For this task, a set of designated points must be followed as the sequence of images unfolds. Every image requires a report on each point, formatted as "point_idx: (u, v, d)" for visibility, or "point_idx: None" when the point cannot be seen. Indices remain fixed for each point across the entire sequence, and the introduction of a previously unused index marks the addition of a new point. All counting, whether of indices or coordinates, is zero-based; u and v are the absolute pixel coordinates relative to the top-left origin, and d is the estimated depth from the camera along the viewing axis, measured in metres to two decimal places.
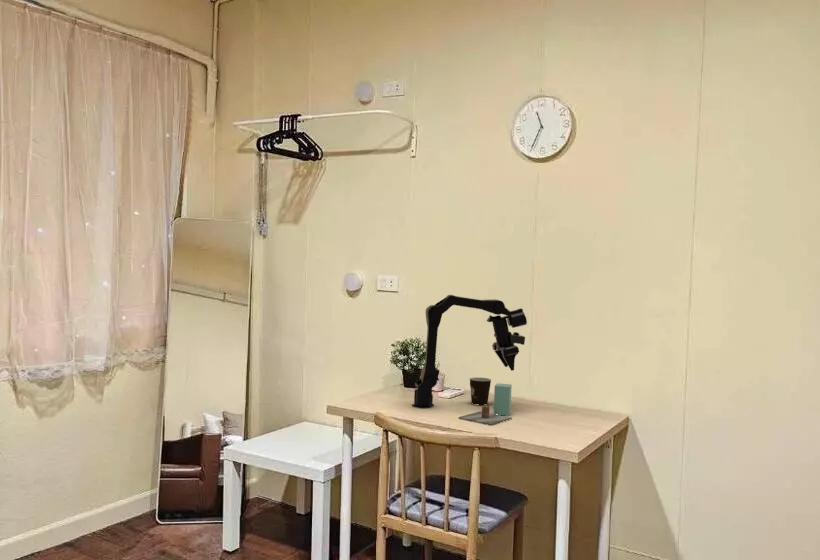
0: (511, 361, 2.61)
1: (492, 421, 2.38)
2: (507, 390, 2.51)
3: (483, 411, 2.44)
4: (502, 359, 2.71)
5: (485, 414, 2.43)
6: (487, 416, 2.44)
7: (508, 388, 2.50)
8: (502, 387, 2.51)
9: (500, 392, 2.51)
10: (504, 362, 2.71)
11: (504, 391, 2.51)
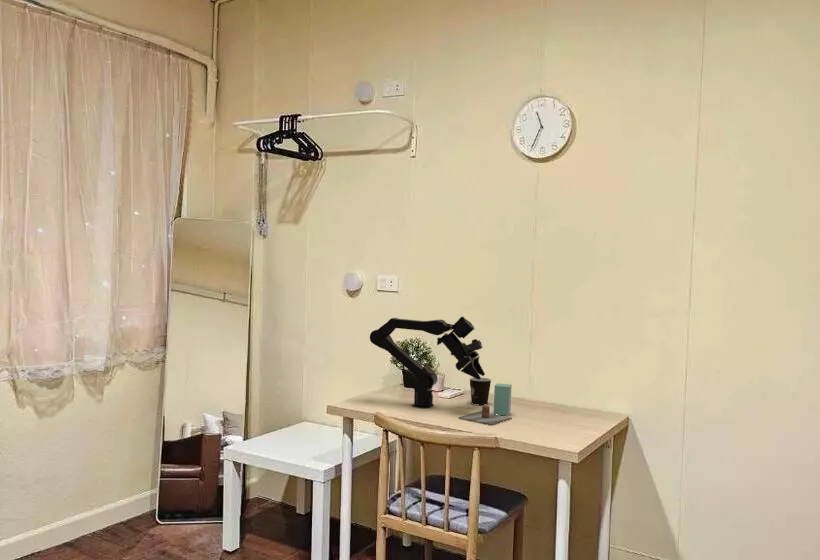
0: (472, 371, 2.51)
1: (492, 421, 2.38)
2: (507, 390, 2.51)
3: (483, 411, 2.44)
4: (476, 370, 2.61)
5: (485, 414, 2.43)
6: (487, 416, 2.44)
7: (508, 388, 2.50)
8: (502, 387, 2.51)
9: (500, 392, 2.51)
10: (479, 372, 2.61)
11: (504, 391, 2.51)
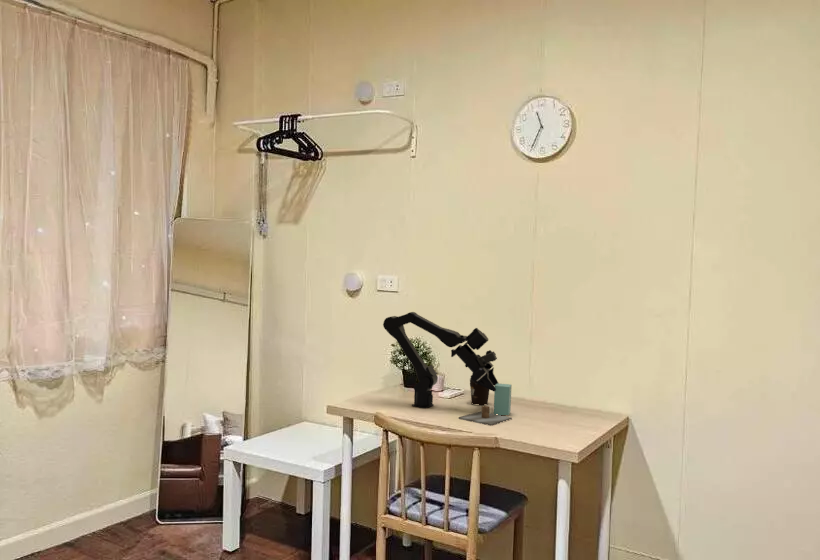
0: (487, 383, 2.50)
1: (492, 421, 2.38)
2: (507, 390, 2.51)
3: (483, 411, 2.44)
4: (491, 381, 2.60)
5: (485, 414, 2.43)
6: (487, 416, 2.44)
7: (508, 388, 2.50)
8: (502, 387, 2.51)
9: (500, 392, 2.51)
10: (494, 383, 2.59)
11: (504, 391, 2.51)
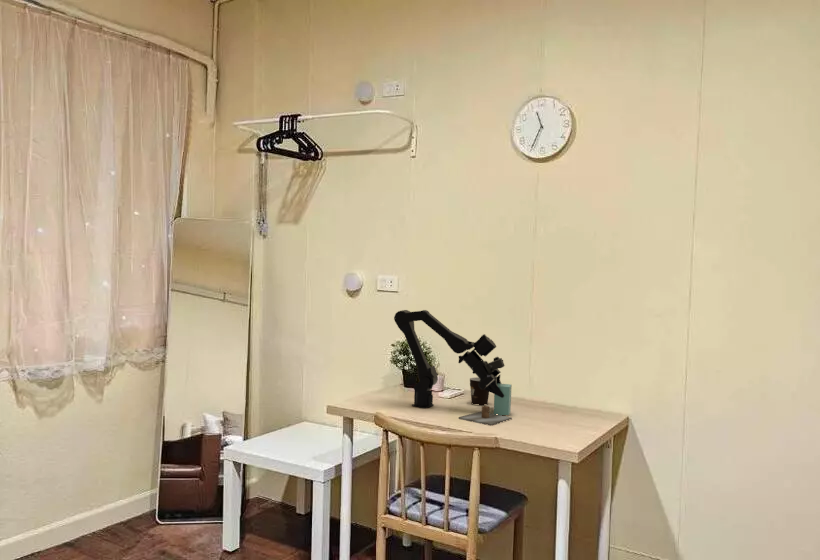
0: (496, 389, 2.50)
1: (492, 421, 2.38)
2: (507, 390, 2.51)
3: (483, 411, 2.44)
4: None
5: (485, 414, 2.43)
6: (487, 416, 2.44)
7: (508, 388, 2.50)
8: (502, 387, 2.51)
9: None
10: None
11: (504, 391, 2.51)
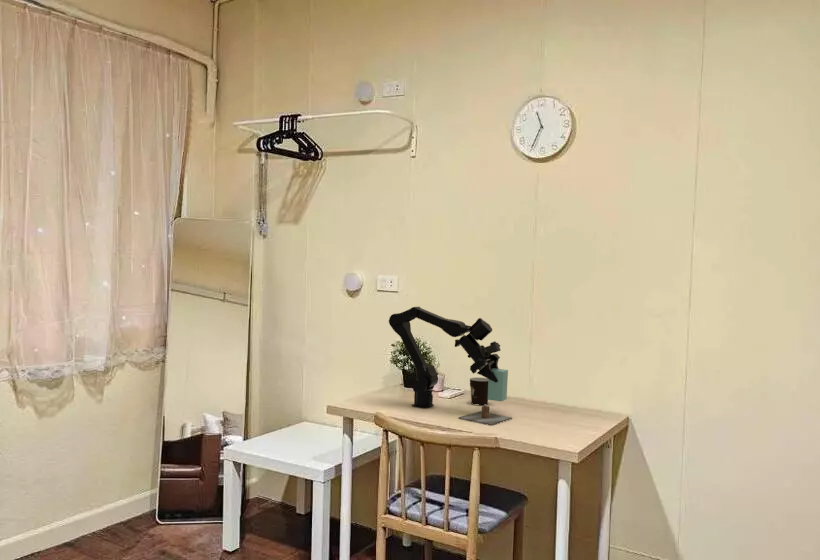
0: (489, 374, 2.47)
1: (492, 421, 2.38)
2: (501, 375, 2.46)
3: (483, 411, 2.44)
4: None
5: (485, 414, 2.43)
6: (487, 416, 2.44)
7: (502, 373, 2.46)
8: (496, 372, 2.47)
9: None
10: None
11: (498, 376, 2.47)
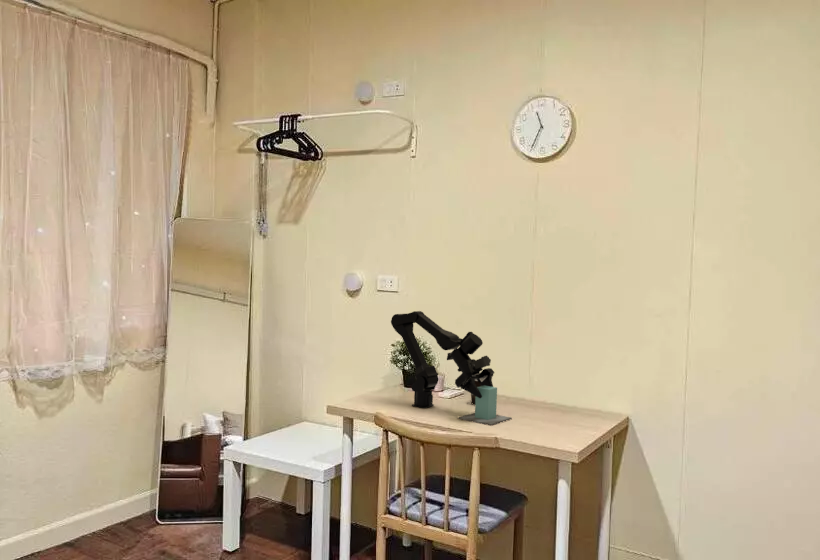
0: (473, 389, 2.41)
1: (492, 421, 2.38)
2: (487, 393, 2.41)
3: None
4: None
5: None
6: None
7: (488, 391, 2.41)
8: (483, 389, 2.42)
9: None
10: None
11: (484, 393, 2.42)
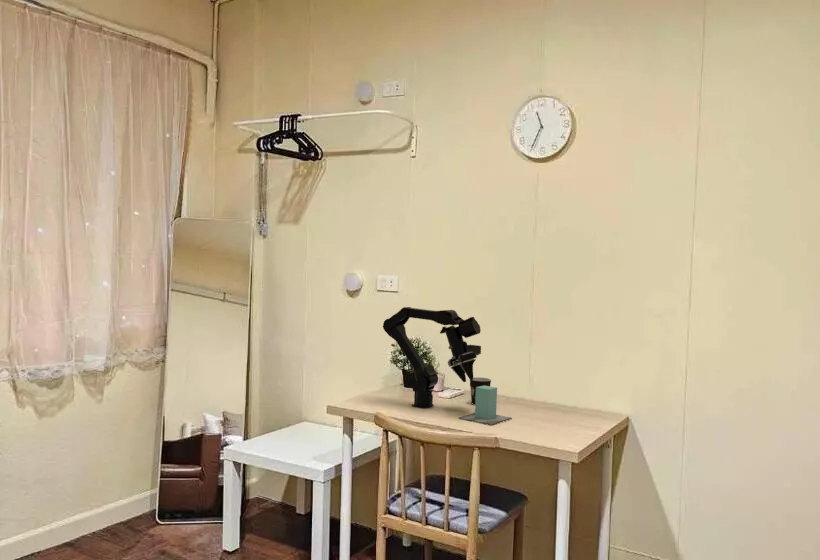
0: (469, 369, 2.48)
1: (492, 421, 2.38)
2: (487, 393, 2.41)
3: None
4: (459, 374, 2.58)
5: None
6: None
7: (488, 391, 2.41)
8: (483, 389, 2.42)
9: (480, 394, 2.43)
10: (462, 377, 2.58)
11: (484, 393, 2.42)
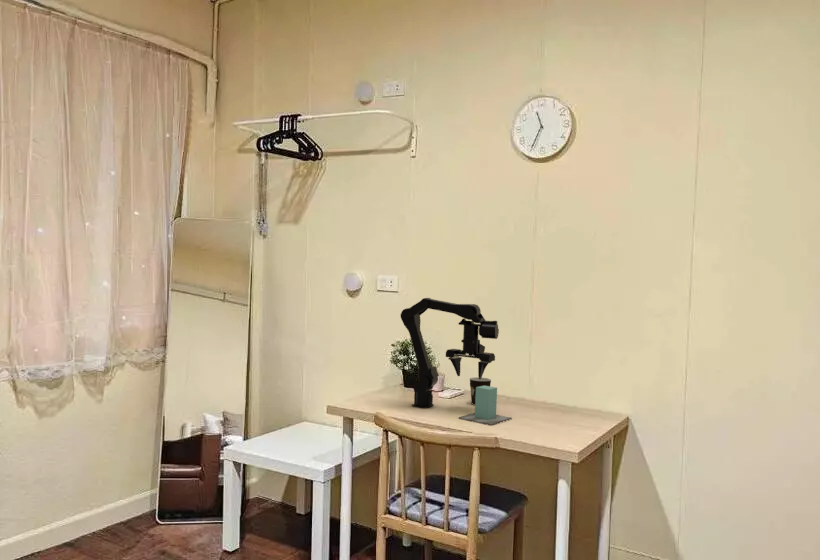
0: (483, 369, 2.53)
1: (492, 421, 2.38)
2: (487, 393, 2.41)
3: None
4: (457, 368, 2.58)
5: None
6: None
7: (488, 391, 2.41)
8: (483, 389, 2.42)
9: (480, 394, 2.43)
10: (458, 371, 2.58)
11: (484, 393, 2.42)
